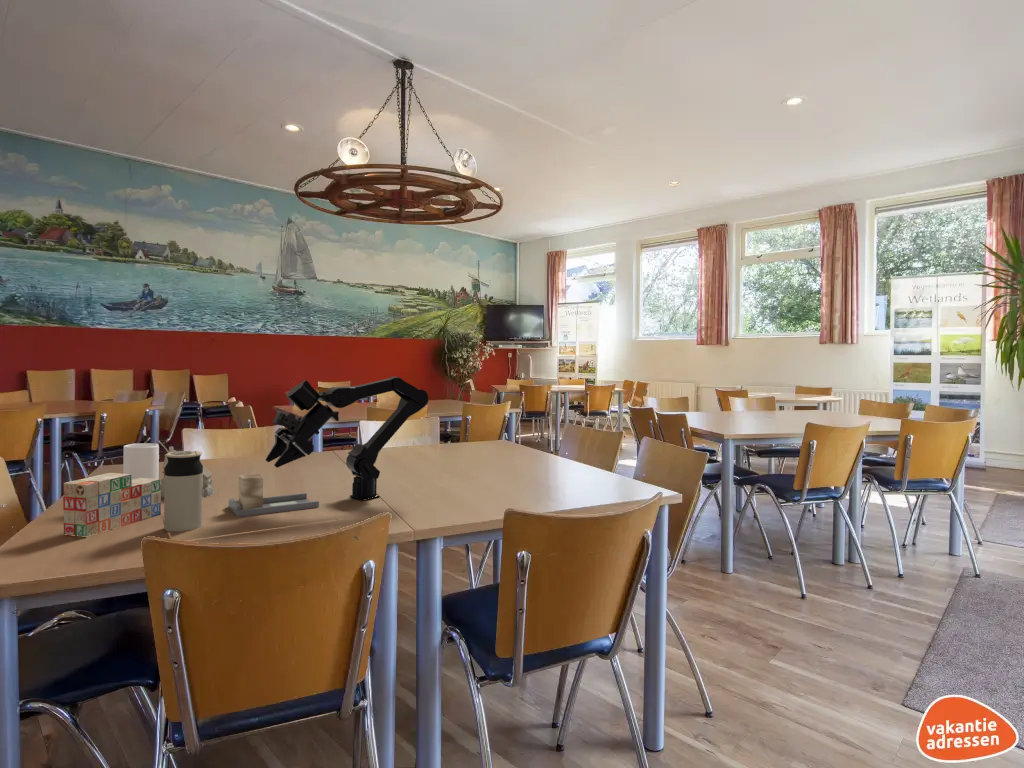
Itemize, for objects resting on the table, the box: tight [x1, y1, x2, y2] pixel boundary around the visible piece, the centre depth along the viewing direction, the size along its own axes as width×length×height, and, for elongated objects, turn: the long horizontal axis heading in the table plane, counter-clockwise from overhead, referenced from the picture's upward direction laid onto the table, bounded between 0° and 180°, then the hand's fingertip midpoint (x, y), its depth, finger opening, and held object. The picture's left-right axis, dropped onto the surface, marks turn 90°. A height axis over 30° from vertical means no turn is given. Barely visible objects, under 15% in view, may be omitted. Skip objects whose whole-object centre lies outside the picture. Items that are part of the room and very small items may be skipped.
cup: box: [122, 442, 160, 480], centre depth 162 cm, size 8×8×16 cm
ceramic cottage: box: [160, 445, 216, 499], centre depth 176 cm, size 16×16×15 cm
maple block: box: [238, 473, 264, 510], centre depth 157 cm, size 5×5×9 cm
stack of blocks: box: [62, 472, 162, 536], centre depth 141 cm, size 21×6×12 cm, turn 169°
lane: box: [228, 492, 320, 518], centre depth 160 cm, size 21×12×3 cm, turn 126°
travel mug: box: [163, 450, 204, 532], centre depth 140 cm, size 8×8×18 cm
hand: (271, 463), depth 159 cm, fingers open, 9 cm apart
